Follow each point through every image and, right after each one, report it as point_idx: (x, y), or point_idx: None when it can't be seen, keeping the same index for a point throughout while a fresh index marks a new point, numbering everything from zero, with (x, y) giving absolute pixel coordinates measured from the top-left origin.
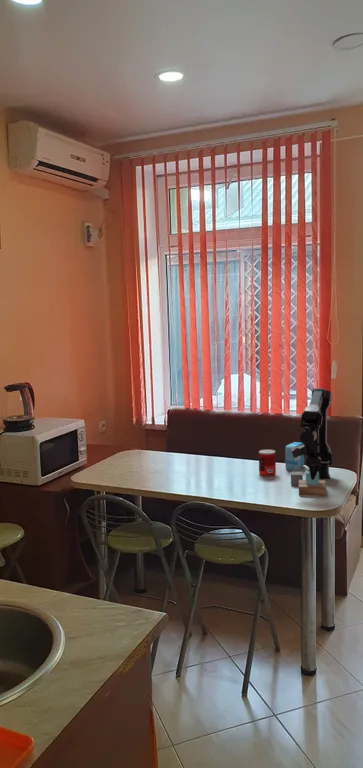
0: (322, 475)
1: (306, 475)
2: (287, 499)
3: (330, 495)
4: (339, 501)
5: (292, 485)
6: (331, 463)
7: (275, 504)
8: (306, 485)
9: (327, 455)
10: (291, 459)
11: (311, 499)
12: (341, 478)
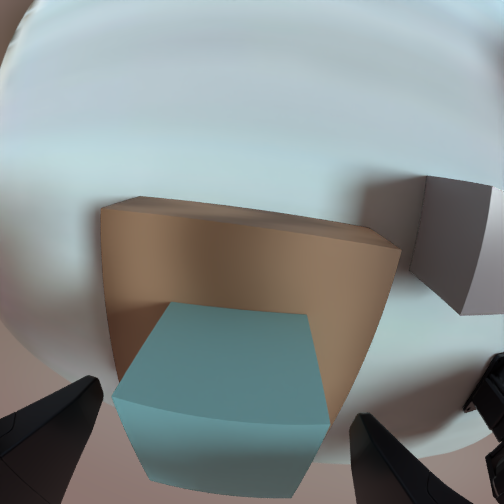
0: (483, 393)
1: (151, 372)
2: (58, 112)
3: None
4: None
5: (427, 187)
6: (488, 462)
7: (10, 67)
8: (153, 296)
9: (497, 500)
10: None
11: (67, 273)
12: (441, 439)
